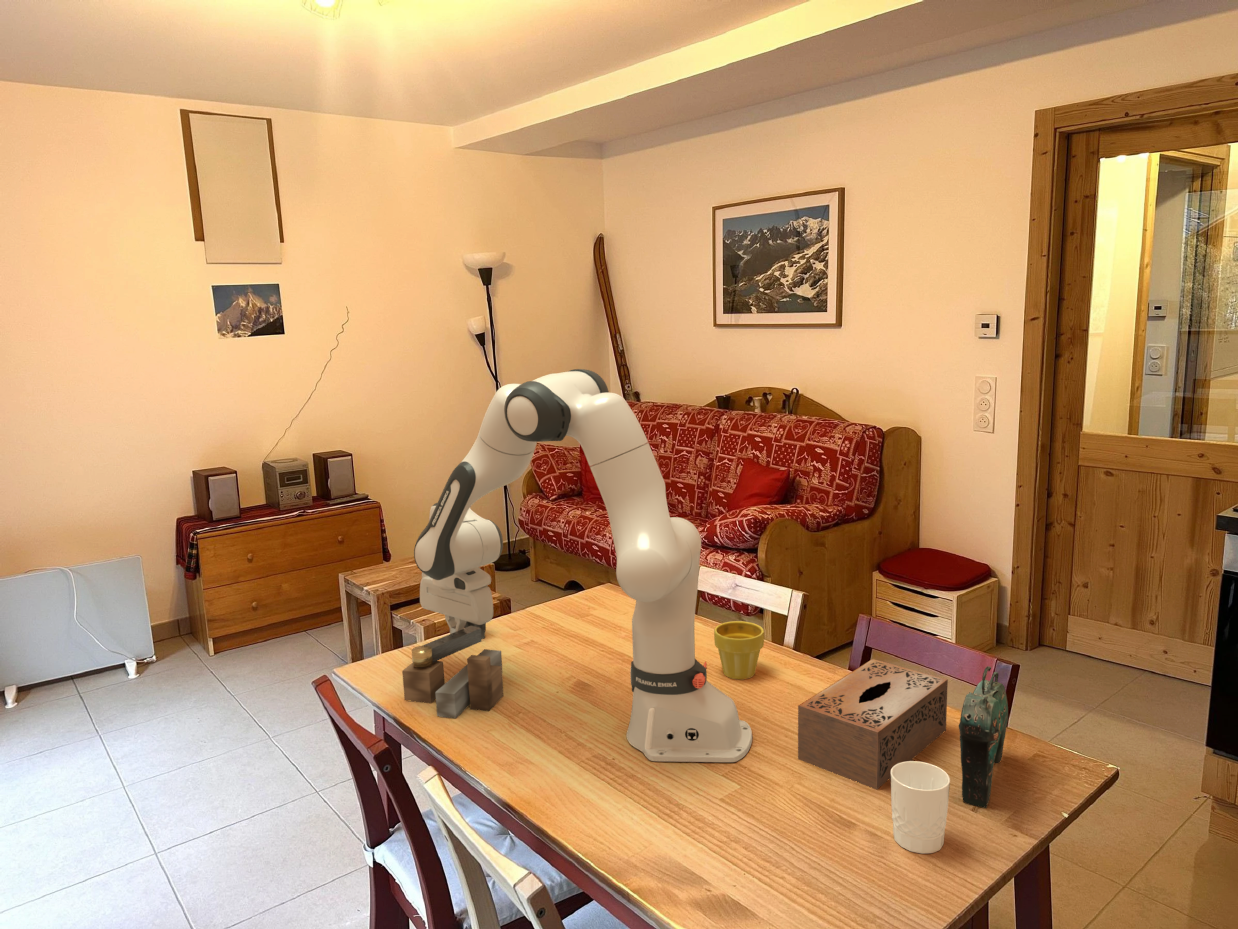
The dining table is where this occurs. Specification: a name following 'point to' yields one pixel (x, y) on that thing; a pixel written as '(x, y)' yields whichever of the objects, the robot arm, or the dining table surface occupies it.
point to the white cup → (919, 805)
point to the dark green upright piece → (982, 738)
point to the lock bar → (445, 646)
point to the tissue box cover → (872, 721)
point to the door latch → (457, 684)
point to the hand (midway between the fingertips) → (457, 635)
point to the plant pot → (739, 647)
